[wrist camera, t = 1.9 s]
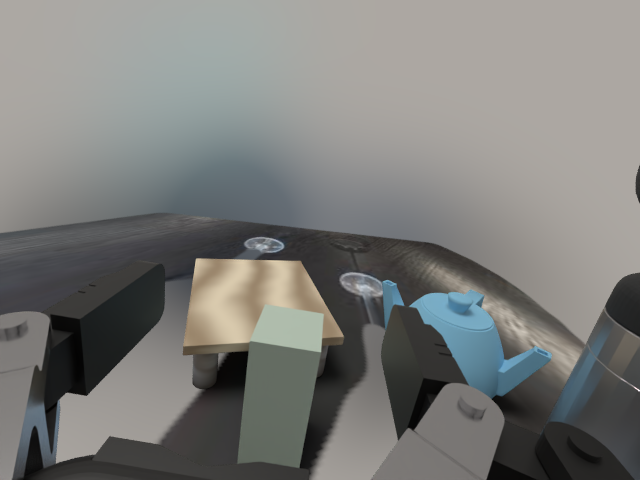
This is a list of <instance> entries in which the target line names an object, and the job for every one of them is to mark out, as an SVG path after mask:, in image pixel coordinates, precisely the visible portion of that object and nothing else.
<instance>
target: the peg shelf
mask: <svg viewBox="0 0 640 480" xmlns="http://www.w3.org/2000/svg"><path fill="white" fill-rule="evenodd" d="M265 304H267V305H273V306H279V307H285V308H291V309H298V310H304V311H310V312H316V313H322V314H324V317H323V332H322V346H321V355H320V361H319V366H318V371H317V377H319V376H321V375H322V374H323V371H324V366H325V361H326V355H327V350H328V345H341V344H343V339H344V336H343V334H342V332H341V331H340V329H339V327H338V325H337V324H336V322H335V320H334V318H333V317H332V315H331V313H330V312H329V310H328V308H327V306H326V305H325V303H324V301H323V299H322V298H321V296H320V294H319V293H318V291H317V289H316V287H315V286H314V284H313V282H312V280H311V279H310V277H309V275H308V274H307V272H306V270H305V268H304V267H303V265H302V263H301V261H272V260H231V259H196V264H195V270H194V277H193V284H192V291H191V298H190V305H189V312H188V318H187V325H186V333H185V338H184V345H183V355H193V385H194V386H195V387H196V388H199V389H207V388H210V387H212V386H213V385H214V384H215V383H216V381H217V368H218V353H225V352H239V351H249V343H250V339H251V337H252V334H253V332H254V329H255V327H256V325H257V322H258V320H259V318H260V315H261V313H262V311H263V308H264V306H265Z"/></svg>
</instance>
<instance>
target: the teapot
mask: <svg viewBox="0 0 640 480" xmlns="http://www.w3.org/2000/svg"><path fill="white" fill-rule="evenodd" d="M396 285H397V284H395V283H393V282H391V281H389V280H386V281H383V282H382V287H383V302H384V317H385V330H386V328H387V324H388V321H389V317H390V313H391V310H392V307H393V305H395V304H396V305H402V306H404V304H403V301H402V299H401V296H400V294H399V291H398V289H397V286H396ZM483 298H484V295H482V294H480V293H478V292H475V291H473V290H469V291H468V292H467V293H466V294H465V295H464V294H461V293H457V292H450V293H448V294H443V293H431V294H427V295H425V296H423V297H421V298H420V299H418V300H417V301H415V302H414V303H413V304H411V305H410V306H409V307H414V308H417V309H418V311H419V313H420V315H421V317H422V319H423V322H424V324H429V325H431V326H433V327H434V328H435V329H436V330H437V331H438V332H439V333H440V334H441V335H442V336H443V338H444V340H445V342H446V344H447V348H449V349H450V351H451V353H452V357H454V358H455V360H456V362H457V364H458V366H459V368H460V369H461V371H462V373H463V375H464V377H465V379H466V380H467V382H468V384H469V386H471V387H473V388H476V389H477V390H479V391H481V392H483V393H484V394H486V395H487V396H488V397H489V398H491V399H492V398H493V397H494V396H496V395H499V396H504V395H505V394H506V393H508V392H509V391H510V390H512V389H513V388H514V387H516V386H517V385H518V384H520V383H521V382H522V381H524V380H525V379H526V378H528V377H529V376H530V375H532V374H533V373H534V372H536V371H537V370H538V369H540V368H541V367H542V366H544V365H545V364H546V363H548V362H549V361H550V360H551V353H549V352H547V351H545V350H543V349H541V348H538V347H536V346H535V347H534V348H533V349H531V350H528V351H526V352H524V353H522V354H520V355H518V356H516V357H514V358H511V359H509V360H504V354H503V349H502V345H501V341H500V338H499V335H498V331H497V328H496V326H495V324H494V321H493V319H492V318H491V316H490V315H489V314H488V313H487V312H486V311H485V310H483V309H482V308H481V306H482V302H483Z"/></svg>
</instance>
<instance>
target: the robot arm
mask: <svg viewBox="0 0 640 480" xmlns="http://www.w3.org/2000/svg"><path fill="white" fill-rule="evenodd" d="M636 194H637V197H638V200H639V203H640V166H639V169H638V172H637V176H636ZM164 297H165V269H164V266H163V265H162V264H157V263H152V262H146V261H136V262H135V263H133V264H131V265H130V266H128V267H126V268H125V269H123V270H121V271H120V272H116V273H113V274H110V275H107V276H103V277H101V278H99V279H98V280H96V281H94V282H93V283H91V284H89V286H86V287H84V288H82V289H81V290H79V291H78V293H74V294H72V295H70V296H69V297H67V298H65V299H64V300H62V301H60V302H58V303H57V304H55V305H53V306H52V307H50V308H48V309H46V310H45V311H43V312H41V313H39V312H29V311H28V312H15V313H9V314H5V315H1V316H0V480H309V470H308V469H302V468H296V467H290V466H284V465H278V464H272V463H266V462H250V463H239V464H228V465H218V466H202V465H200V464H197V463H195V462H193V461H191V460H189V459H187V458H185V457H183V456H181V455H179V454H177V453H175V452H173V451H171V450H169V449H167V448H165V447H163V446H161V445H158V444H152V443H146V442H140V441H134V440H128V439H122V438H116V437H109V438H108V439H107V440H106V442H105V443H104V444H103V446H102V447H101V448H100V450H99V451H98V452H97V453H96V455H89V456H84V457H79V458H74V459H70V460H67V461H63V462H59V463H57V464H56V452H57V441H58V429H59V418H60V417H59V416H60V401H59V399H60V398H61V397H62V396H63V395H64V394H65V393H73V394H79V395H85V396H87V395H88V394H89V393H90V392H91V391H92V389H94V388H95V387H96V385H98V384H99V383H100V381H101V380H102V379H103V378H104V377H105V376H106V375H107V374H108V373H109V372H110V371H111V370H112V369H113V368H114V367H115V366H116V365H117V364H118V363H119V362H120V361H121V360H122V359H123V358H124V357H125V356H126V355H127V353H129V352H130V351H131V350H132V349H133V348H134V347H135V345H137V343H138V342H139V341H140V340H141V339H142V338H143V337H144V336H145V335H146V334H147V333H148V332H149V331H150V330H151V329H152V328H153V327H154V326H155V325H156V324H157V323H158V322H159V320H160V318H161V316H162V314H163V311H164V303H165V302H164V301H165V298H164ZM381 354H382V355H381V358H382V365H383V370H384V375H385V379H386V384H387V389H388V393H389V399H390V403H391V408H392V412H393V417H394V423H395V427H396V432H397V437H398V442H397V444H396V445H395V447H394V448H393V449H392V451H391V452H390V453H389V455H388V456H387V458H386V459H385V461H384V462H383V463H382V465H381V466H380V468H379V469H378V470H377V472H376V473H375V475H374V476H373V478H372V479H371V480H640V273H635V274H631V275H628V276H625V277H624V278H622V279H621V280H620V281H619V282H618V283H617V285H616V286H615V288H614V289H613V292H612V294H611V295H610V297H609V299H608V301H607V303H606V305H605V307H604V309H603V311H602V313H601V315H600V317H599V319H598V321H597V323H596V325H595V327H594V329H593V331H592V333H591V335H590V337H589V339H588V341H587V343H586V345H585V347H584V349H583V351H582V353H581V355H580V357H579V359H578V361H577V363H576V365H575V367H574V369H573V371H572V373H571V375H570V377H569V379H568V381H567V383H566V384H565V386H564V388H563V390H562V392H561V394H560V396H559V398H558V400H557V402H556V404H555V406H554V408H553V410H552V412H551V414H550V416H549V418H548V420H547V422H546V424H545V426H544V428H543V430H542V432H541V434H540V435H539V434H537V433H534V432H532V431H529V430H527V429H524V428H522V427H519V426H517V425H514V424H512V423H510V422H508V421H505V420H504V416H503V413H502V411H501V410H500V408H499V407H498V406H497V404H496V403H495V402H494V401H493V400H492V399H491V398H489V397H488V396H487V395H486V394H484V393H483V392H481V391H479V390H477V389H476V388H473V387H471V386H469V384H468V382H467V380H466V379H465V377H464V375H463V373H462V371H461V369H460V368H459V366H458V364H457V362H456V360H455V358H454V357H452V353H451V351H450V349H449V348H447V344H446V342H445V340H444V338H443V336H442V335H441V334H440V333H439V332H438V331H437V330H436V329H435V328H434V327H433V326H431V325H429V324H424V322H423V319H422V317H421V315H420V313H419V311H418V309H417V308H414V307H408V306H402V305H396V304H395V305H393V307H392V310H391V313H390V317H389V321H388V324H387V328H386V332H385V336H384V340H383V344H382V351H381Z"/></svg>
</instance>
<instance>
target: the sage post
mask: <svg viewBox="0 0 640 480" xmlns="http://www.w3.org/2000/svg"><path fill="white" fill-rule="evenodd" d="M323 317H324V314H322V313H316V312H310V311H304V310H298V309H291V308H285V307H279V306H273V305H267V304H265V306H264V308H263V311H262V313H261V315H260V318H259V320H258V322H257V325H256V327H255V329H254V332H253V334H252V337H251V339H250V343H249V353H248V363H247V373H246V383H245V393H244V403H243V413H242V423H241V433H240V443H239V453H238V463H237V464H239V463H250V462H266V463H272V464H278V465H284V466H290V467H296V468H299V467H300V461H301V456H302V451H303V445H304V440H305V435H306V429H307V424H308V419H309V414H310V408H311V403H312V398H313V392H314V387H315V382H316V377H317V371H318V366H319V361H320V355H321V346H322V332H323Z"/></svg>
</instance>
